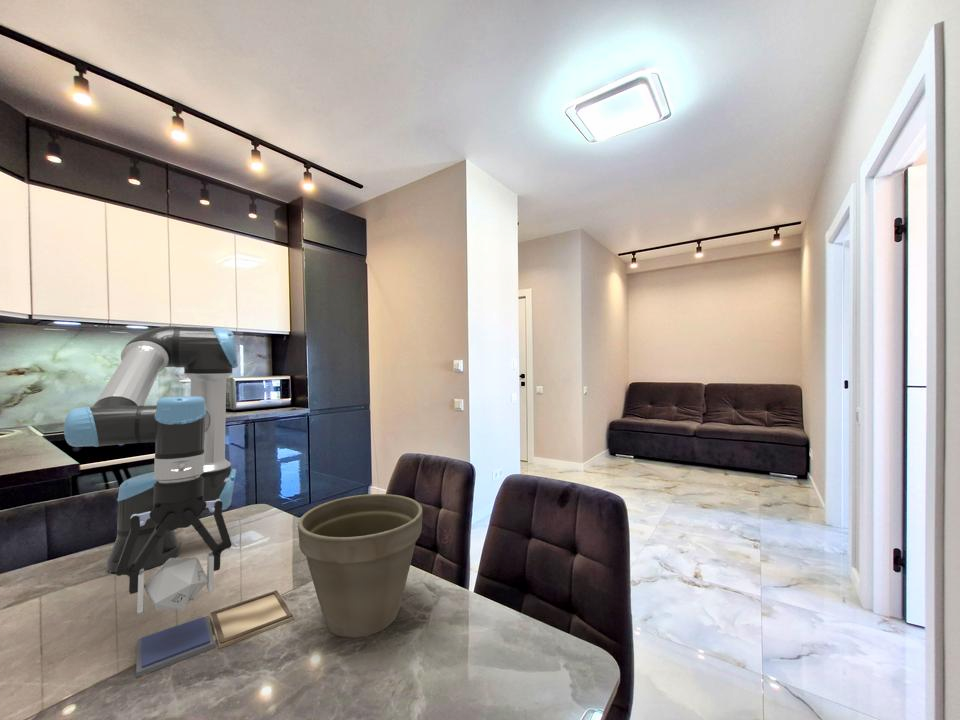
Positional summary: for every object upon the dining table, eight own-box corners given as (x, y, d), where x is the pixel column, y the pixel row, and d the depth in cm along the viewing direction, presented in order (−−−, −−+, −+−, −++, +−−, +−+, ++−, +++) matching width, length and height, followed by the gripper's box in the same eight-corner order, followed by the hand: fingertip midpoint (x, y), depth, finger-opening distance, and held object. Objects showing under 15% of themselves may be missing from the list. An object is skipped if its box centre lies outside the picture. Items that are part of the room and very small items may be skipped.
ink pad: (136, 644, 73) (136, 637, 73) (207, 619, 81) (207, 613, 81) (136, 677, 65) (136, 670, 65) (215, 647, 72) (215, 640, 72)
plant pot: (368, 678, 65) (369, 545, 66) (267, 637, 75) (269, 522, 76) (444, 599, 87) (443, 501, 88) (358, 576, 98) (359, 488, 99)
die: (155, 630, 67) (199, 573, 70) (119, 599, 68) (164, 545, 72) (188, 619, 75) (227, 568, 78) (156, 591, 76) (195, 543, 80)
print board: (209, 616, 82) (209, 612, 82) (277, 593, 90) (277, 589, 90) (219, 648, 72) (219, 643, 72) (294, 619, 80) (294, 615, 80)
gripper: (95, 494, 64) (91, 634, 63) (250, 471, 79) (248, 585, 78) (99, 484, 70) (95, 613, 69) (243, 465, 84) (241, 571, 83)
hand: (176, 598), depth 73 cm, fingers closed on die, 10 cm apart
